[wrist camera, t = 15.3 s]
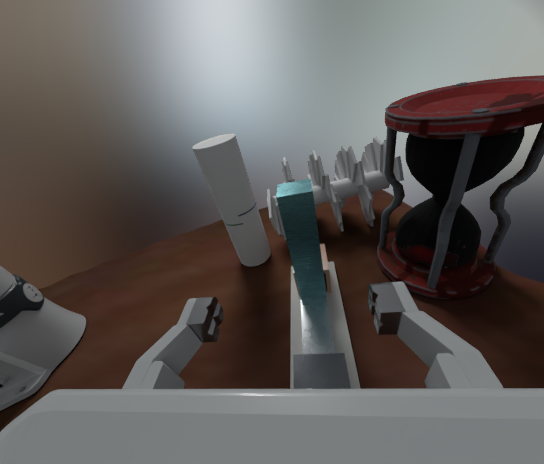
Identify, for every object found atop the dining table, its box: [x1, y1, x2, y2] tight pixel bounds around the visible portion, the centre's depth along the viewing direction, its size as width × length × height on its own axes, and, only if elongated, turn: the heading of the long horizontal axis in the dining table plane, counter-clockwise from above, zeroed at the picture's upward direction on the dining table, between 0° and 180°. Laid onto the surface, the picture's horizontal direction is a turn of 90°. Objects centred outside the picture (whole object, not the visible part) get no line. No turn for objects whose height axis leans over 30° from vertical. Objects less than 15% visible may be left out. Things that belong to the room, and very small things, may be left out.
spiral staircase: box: [267, 138, 404, 240], centre depth 48 cm, size 18×18×25 cm
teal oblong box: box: [276, 179, 335, 354], centre depth 26 cm, size 16×4×20 cm, turn 176°
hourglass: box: [377, 76, 544, 299], centre depth 31 cm, size 16×16×25 cm
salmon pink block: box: [293, 244, 332, 295], centre depth 37 cm, size 6×5×5 cm
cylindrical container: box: [192, 134, 271, 267], centre depth 43 cm, size 7×7×25 cm
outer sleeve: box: [293, 353, 351, 389], centre depth 21 cm, size 10×5×5 cm, turn 176°
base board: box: [290, 261, 361, 389], centre depth 30 cm, size 30×8×1 cm, turn 176°
